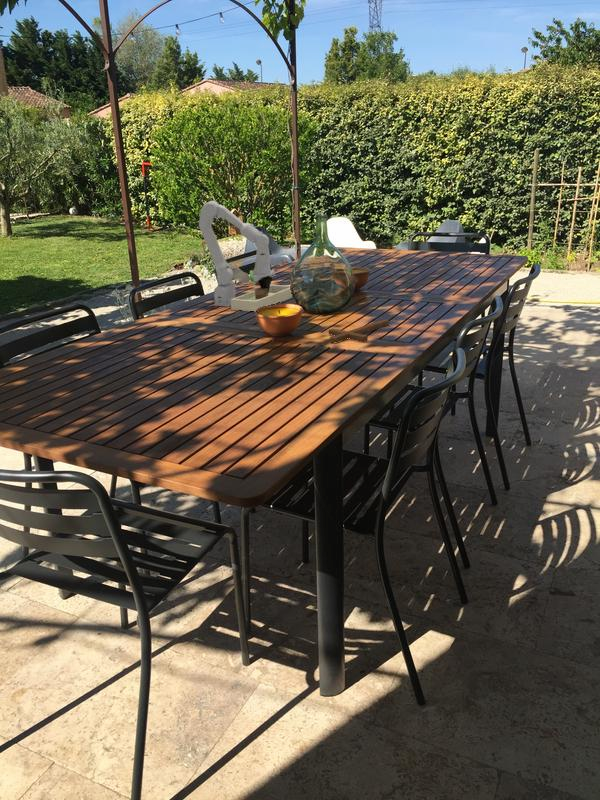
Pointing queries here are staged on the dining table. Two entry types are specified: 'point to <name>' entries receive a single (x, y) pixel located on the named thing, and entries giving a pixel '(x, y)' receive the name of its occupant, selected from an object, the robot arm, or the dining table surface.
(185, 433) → the dining table surface
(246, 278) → the decorative bird
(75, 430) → the dining table surface
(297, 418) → the dining table surface
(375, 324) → the cross
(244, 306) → the trap box
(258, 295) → the walnut block
